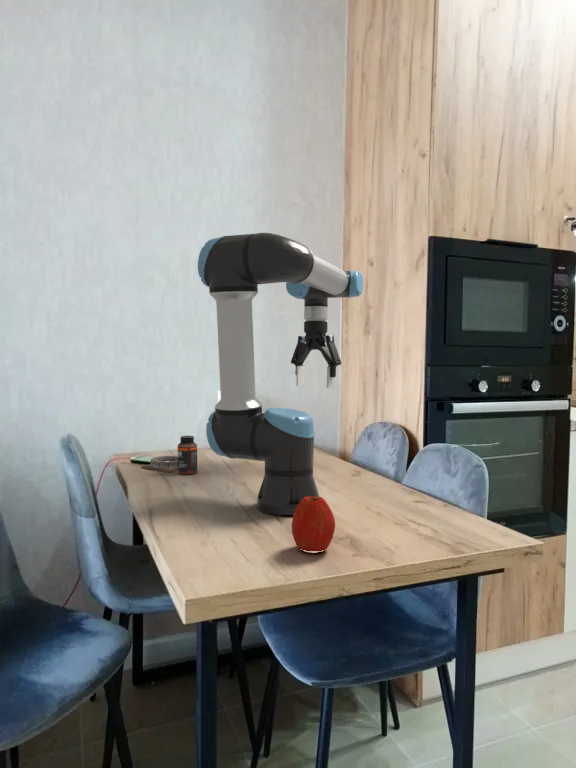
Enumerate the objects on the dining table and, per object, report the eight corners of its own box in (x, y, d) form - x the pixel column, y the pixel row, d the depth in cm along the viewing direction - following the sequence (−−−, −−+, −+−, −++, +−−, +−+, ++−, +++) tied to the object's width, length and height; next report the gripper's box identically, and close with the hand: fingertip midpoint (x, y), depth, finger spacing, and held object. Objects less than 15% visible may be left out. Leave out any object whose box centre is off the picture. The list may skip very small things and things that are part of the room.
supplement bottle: (199, 471, 168) (199, 435, 168) (194, 475, 162) (194, 438, 162) (180, 470, 169) (180, 434, 168) (175, 475, 163) (174, 437, 162)
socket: (168, 472, 166) (168, 464, 166) (141, 467, 172) (141, 459, 172) (195, 466, 176) (195, 458, 176) (168, 461, 182) (168, 454, 182)
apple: (332, 542, 107) (333, 488, 106) (337, 558, 98) (338, 499, 98) (290, 542, 106) (291, 488, 106) (292, 558, 98) (292, 499, 98)
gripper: (353, 319, 167) (352, 388, 169) (297, 322, 186) (296, 384, 187) (337, 318, 162) (335, 389, 163) (280, 321, 180) (280, 385, 182)
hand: (314, 386), depth 175 cm, fingers open, 13 cm apart
